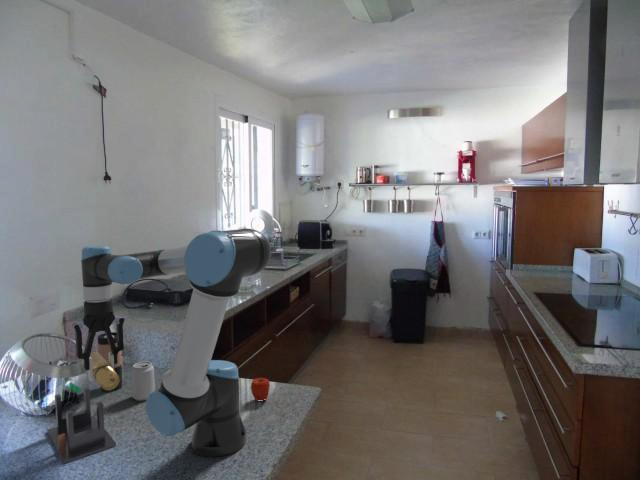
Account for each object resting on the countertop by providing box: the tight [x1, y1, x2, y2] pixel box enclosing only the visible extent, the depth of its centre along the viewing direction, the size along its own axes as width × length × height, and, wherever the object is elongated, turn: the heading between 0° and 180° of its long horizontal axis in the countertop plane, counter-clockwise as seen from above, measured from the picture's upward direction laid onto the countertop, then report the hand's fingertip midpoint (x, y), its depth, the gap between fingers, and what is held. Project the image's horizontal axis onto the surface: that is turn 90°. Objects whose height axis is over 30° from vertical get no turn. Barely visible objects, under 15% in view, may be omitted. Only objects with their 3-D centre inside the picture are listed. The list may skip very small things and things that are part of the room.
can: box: [130, 360, 156, 402], centre depth 159 cm, size 8×8×12 cm
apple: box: [250, 377, 271, 401], centre depth 155 cm, size 6×6×8 cm
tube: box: [90, 351, 120, 390], centre depth 133 cm, size 20×5×5 cm, turn 38°
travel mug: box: [97, 331, 123, 393], centre depth 166 cm, size 8×8×20 cm
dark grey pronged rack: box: [46, 386, 117, 465], centre depth 131 cm, size 22×13×12 cm, turn 41°
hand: (101, 377), depth 133 cm, fingers closed on tube, 5 cm apart
